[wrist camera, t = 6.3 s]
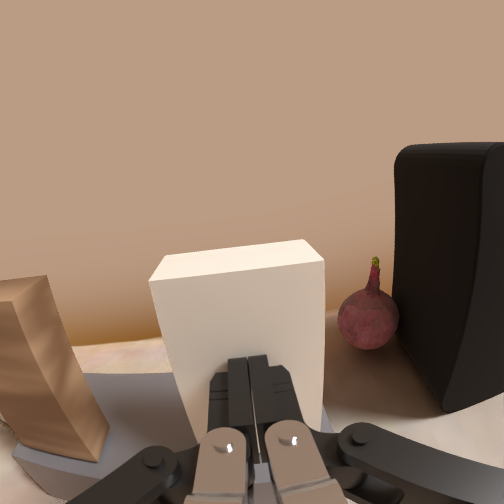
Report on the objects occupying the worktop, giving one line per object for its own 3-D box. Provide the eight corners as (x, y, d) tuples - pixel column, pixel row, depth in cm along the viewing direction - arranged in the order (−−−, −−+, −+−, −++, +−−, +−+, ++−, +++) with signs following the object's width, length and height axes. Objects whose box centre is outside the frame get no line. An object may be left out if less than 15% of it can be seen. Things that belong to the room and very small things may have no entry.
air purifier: (503, 303, 30) (517, 155, 24) (567, 356, 16) (603, 167, 10) (381, 329, 31) (384, 144, 26) (433, 419, 17) (478, 138, 12)
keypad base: (336, 503, 13) (346, 466, 11) (49, 494, 12) (11, 455, 10) (305, 403, 22) (305, 357, 21) (83, 413, 21) (62, 371, 20)
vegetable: (397, 368, 24) (411, 269, 22) (334, 368, 26) (336, 270, 23) (391, 334, 30) (399, 247, 27) (338, 334, 32) (339, 248, 29)
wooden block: (319, 443, 13) (324, 260, 10) (203, 457, 13) (148, 281, 10) (307, 405, 16) (303, 239, 13) (205, 418, 16) (165, 255, 13)
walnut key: (98, 462, 12) (11, 300, 9) (24, 445, 11) (-54, 304, 9) (110, 426, 14) (46, 275, 12) (40, 416, 14) (-23, 283, 11)
